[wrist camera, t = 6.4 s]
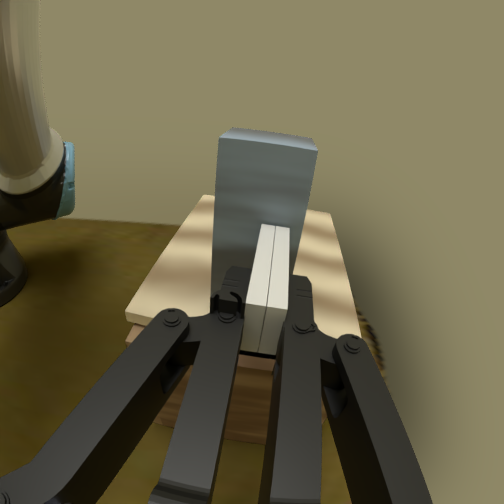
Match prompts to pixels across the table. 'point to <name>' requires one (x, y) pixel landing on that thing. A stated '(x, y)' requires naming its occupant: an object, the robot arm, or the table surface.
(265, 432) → the crate
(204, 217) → the lid
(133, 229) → the table surface
